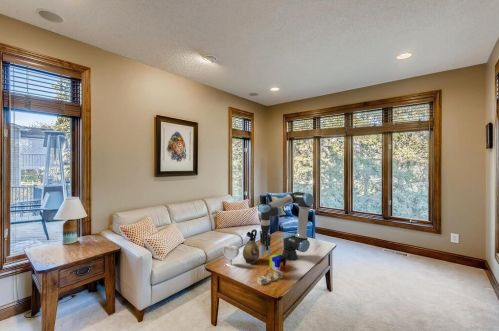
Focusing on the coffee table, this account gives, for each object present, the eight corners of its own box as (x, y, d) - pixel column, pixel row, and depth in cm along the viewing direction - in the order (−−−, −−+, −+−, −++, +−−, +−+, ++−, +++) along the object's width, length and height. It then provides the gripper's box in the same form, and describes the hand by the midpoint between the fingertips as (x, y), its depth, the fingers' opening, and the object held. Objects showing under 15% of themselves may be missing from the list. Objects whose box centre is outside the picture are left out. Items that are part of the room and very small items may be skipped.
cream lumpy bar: (278, 275, 194) (278, 270, 194) (282, 277, 190) (282, 272, 190) (257, 282, 182) (257, 277, 182) (260, 285, 178) (260, 280, 178)
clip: (268, 253, 198) (268, 242, 198) (270, 255, 195) (270, 243, 195) (259, 255, 193) (259, 244, 193) (261, 257, 191) (261, 245, 191)
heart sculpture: (222, 264, 214) (222, 244, 213) (225, 262, 218) (225, 243, 218) (236, 268, 206) (236, 248, 205) (239, 266, 210) (239, 246, 210)
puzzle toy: (277, 271, 201) (277, 259, 200) (269, 267, 209) (269, 256, 208) (285, 268, 206) (285, 257, 206) (277, 264, 214) (277, 253, 214)
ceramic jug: (251, 266, 210) (251, 233, 209) (239, 261, 220) (239, 229, 220) (263, 261, 222) (263, 229, 222) (251, 256, 233) (252, 226, 232)
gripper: (256, 223, 199) (255, 250, 199) (267, 227, 185) (267, 257, 185) (263, 222, 203) (263, 249, 203) (275, 226, 189) (274, 255, 189)
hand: (265, 253), depth 194 cm, fingers closed on clip, 3 cm apart
